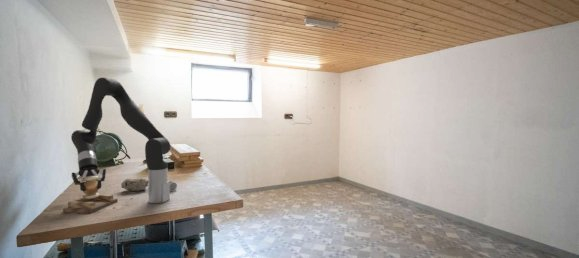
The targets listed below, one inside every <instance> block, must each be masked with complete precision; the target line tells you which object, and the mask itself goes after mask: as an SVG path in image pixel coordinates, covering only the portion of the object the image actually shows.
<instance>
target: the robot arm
mask: <svg viewBox="0 0 579 258" xmlns="http://www.w3.org/2000/svg"><path fill="white" fill-rule="evenodd" d="M106 96H108V97H109V96H110V97H112V98H113V99H114V100H115V101H116V102H117V103H118V105H119V109H120V110H119V111H120V115H121V117H122V119H123V120H124V121H125V122H126V124H127V125H128V126H129V127H131V129H133V130H135V131H136V132H138V133H139V134H141V135H142V136H144V137H146V139H147V142H146V143H145V146H144V153H145V154H144V155H145V163H146V166H147V180H148V186H147V187H148V189H147V193H148V203H149V204H161V203H162V204H164V203H165V202H167V201H168V200H170V199H171V191H170V181H169V179H168V178H169V175H168V173H169V171H168V170H169V168H168V167H169V166H168V164H169V163H168V162H167V161H164V159H163V157H164V156H163V155H166V154H168V153H169V152H170V150H171V143H170V141H169V140H168V138H166V136H164V135H163V133H161V131H159V130H158V129H157V128H156V127H155V125H154V124H153V123H152V122H151V121H150V119H149V118H148V117H147V116H146V115H145V113H144V111H143V110H141V109H140V107H139V106H138V105H137V104H136V102H135V101H134V100H133V99H132V98H131V97H130V95H129V93H128V92H127V91H126V90H125V88H124V86H123V85H122V83H121V82H120V81H118V80H117V79H115V78H109V77H99V78H97V79H96V80H95V83H94V84H93V88H92V93H91V97H90V100H89V105H88V109H87V112H86V114H85V115H84V118H83V121H82V122H81V127H82V128H84V129H86V130H88V131H86V130H80V129H79V130H77V129H76V130H74V131H73V132H72V133H71V142H72V144H73V145H74V147H75V148H76V151H77V163H78V172H74V171H73V172H71V178H72V179H71V180H72V181H73V183H74V186H77V185H79V187H80V191H81V192H82V193H84V191H85V188H84V182H86V181H83V177H86V176H99V173H100V175H101V177H100V176H99V179H97V181H98V190H100V189H101V188H102V182H105V180H106V173H107V172H106V171H107V170H106V168H104V169H99V166H98V159H97V156H96V152H95V151H96V150H95V147H94V144H95V142H96V140H97V134H98V132H97V131H98V129H99V125H100V123H101V121H102V118H103V108H102V107H103V105H102V104H103V101H104V99H105V97H106ZM78 176H79V177H81V179H80V180H78ZM168 181H169V182H168Z"/></svg>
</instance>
